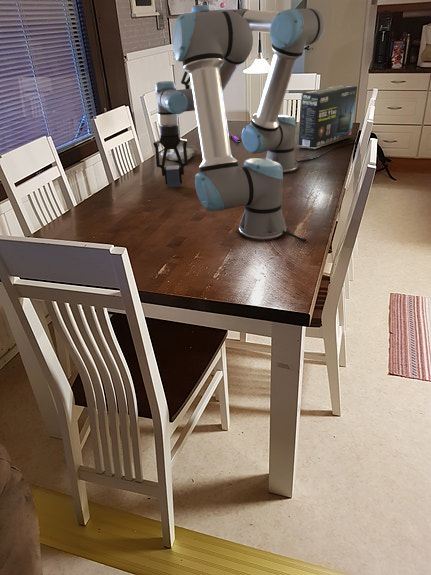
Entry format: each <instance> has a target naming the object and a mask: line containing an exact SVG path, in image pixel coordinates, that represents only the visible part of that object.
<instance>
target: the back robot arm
mask: <svg viewBox="0 0 431 575" xmlns="http://www.w3.org/2000/svg"><path fill="white" fill-rule="evenodd" d="M221 11H232V12H236V13H238V14H240V15H241V16H242V17H243V18H244V19H245V20H246V21H247V22H248V24H249V25H250V28H251V30H252V32H255V33H256V32H257V33H266V34H269V37H270V41H271V43H272V44H271V49H272V51H273V55H272V59H271V62H270V65H269V69H268V73H267V76H266V80H265V83H264V87H263V90H262V94H261V97H260V100H259V104H258V107H257V111H256V113H253V115H252V116H251V119H250V122H249V123H250V124H247V125H246V126H244V127H243V129H242V131H241V141H242V144H243V147H244V148H245V150H247V152H249V153H250V154H254V155H257V154H262V153H264V152H266V156H265V158H264V159H267V160H272V161H275V162H277V163H279V164H280V165H281V166H282V169H283V171H286V172H283V174H291V173H294V172H296V171H297V170H298V163H305V162H311V161H314V160H317V159H320V158H321V157H322V156H324V155H325V153H324V152H323V153H324V154H322V153H321V154H322V155H321V154H319V155H320V156H319V155H318V156H319V157H317V156H315V157H316V158H314V157H312V158H313V159H311V158H307V159H299V160H300V161H297V160H298V159H297V158H296V155H295V139H296V137H295V136H296V127H297V126H296V118H295V117H294V116H292V115H286V114H285V115H284V114H280V111H281V108H282V105H283V102H284V100H285V96H286V92H287V90H288V86H289V83H290V80H291V76H292V75H293V71H294V68H295V64H296V61H297V60H298V59H300V58H302V56H303V53H304V51H305V47H306V46H311V45H313V44H315V43H317V42H318V41H319V40H320V39H321V38H322V36H323V35H324V32H325V28H326V22H325V17H324V15H323V14H322V13H321V12H320V11H319V10H318V9H316V8H309V7H308V8H287V9H284V10H281V11H273V10H272V11H271V10H258V9H257V10H256V9H248V8H236V9H212V10H211V7H210V5H208V4H200V5H199V4H198V5H197V4H195V5H193V6H192V7H191V13H192V12H221ZM187 75H188V73H187V72H186V71H185V70H184V73H183V76H182V78H181V79H180V84H181V85H184V86H185V87H184V89H191V85H190V83H191V79H190V75H189V76H188V78H187ZM186 78H187V79H186ZM354 145H358V143H357V142H356V141H355V143H354ZM290 170H292V171H290Z"/></svg>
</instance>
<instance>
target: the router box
mask: <svg viewBox="0 0 431 575" xmlns="http://www.w3.org/2000/svg"><path fill="white" fill-rule="evenodd" d="M357 93H358V86H356V85H350V84H339V85H338V84H337V85H334V86H328V87H324V88H318V89H314V90H309V91H304V92H301V93H300V109H299V110H300V111H299V124H298V137H297V146H298V145H302V146H307V147H317V146H320V145H323V144H325V143H328V142H331V141H333V140H336V139H338V138H341V137H344V136H347V135H351V136H352V133H353V132H352V131H353V125H354V115H355V109H356V99H357ZM311 151H313V150H312V149H311Z"/></svg>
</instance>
